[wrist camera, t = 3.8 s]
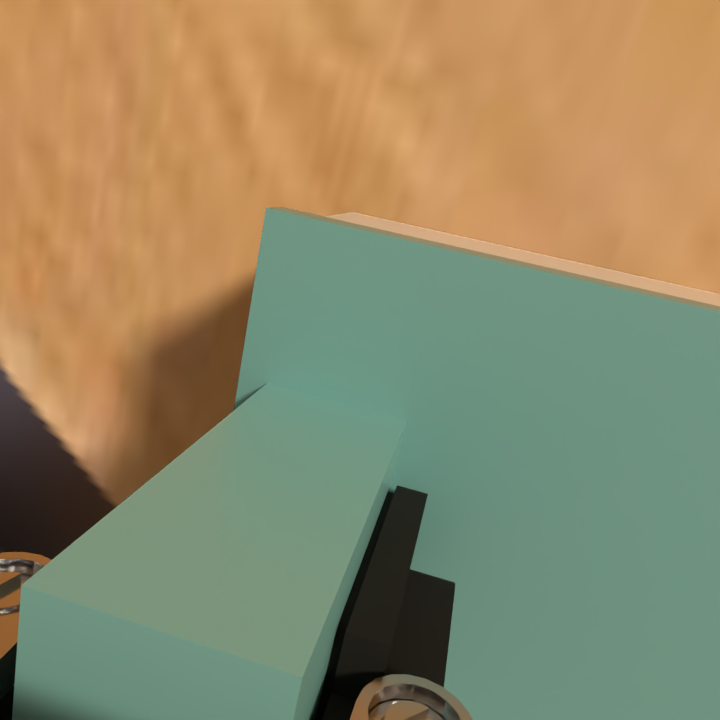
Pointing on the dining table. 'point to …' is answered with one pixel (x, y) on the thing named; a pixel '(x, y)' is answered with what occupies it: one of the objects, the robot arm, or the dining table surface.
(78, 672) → the lid
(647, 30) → the dining table surface
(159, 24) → the dining table surface
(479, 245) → the tub
